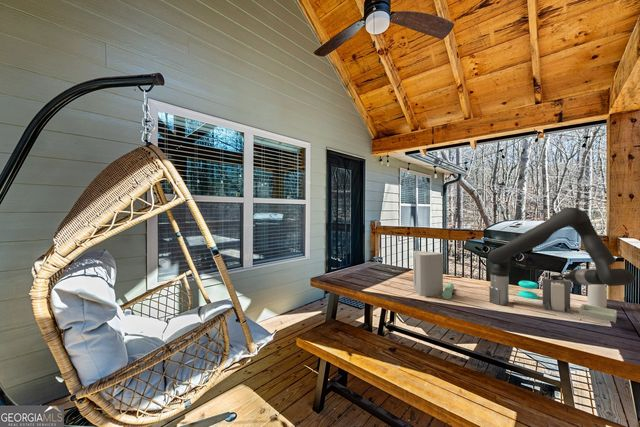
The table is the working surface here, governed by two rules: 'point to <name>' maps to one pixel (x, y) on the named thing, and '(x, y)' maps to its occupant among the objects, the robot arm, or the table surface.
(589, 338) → the table surface
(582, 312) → the waste tray
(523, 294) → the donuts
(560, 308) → the grey tall block
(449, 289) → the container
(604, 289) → the milk bottle
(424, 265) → the tall grey box
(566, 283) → the printer bay
